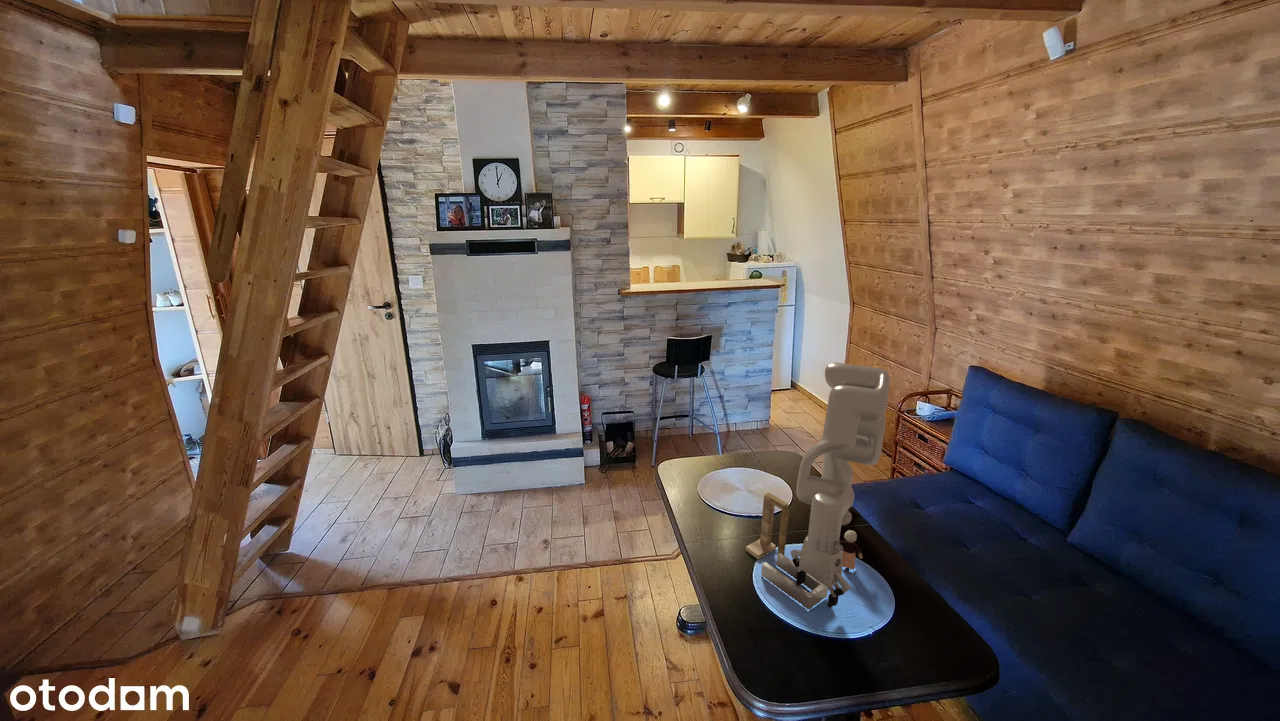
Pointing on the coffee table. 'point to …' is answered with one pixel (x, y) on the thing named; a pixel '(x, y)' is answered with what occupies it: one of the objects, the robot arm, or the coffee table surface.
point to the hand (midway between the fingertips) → (815, 594)
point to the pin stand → (770, 528)
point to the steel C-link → (791, 587)
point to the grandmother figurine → (850, 549)
